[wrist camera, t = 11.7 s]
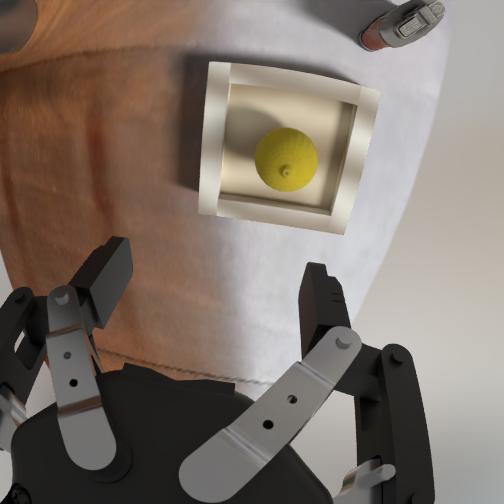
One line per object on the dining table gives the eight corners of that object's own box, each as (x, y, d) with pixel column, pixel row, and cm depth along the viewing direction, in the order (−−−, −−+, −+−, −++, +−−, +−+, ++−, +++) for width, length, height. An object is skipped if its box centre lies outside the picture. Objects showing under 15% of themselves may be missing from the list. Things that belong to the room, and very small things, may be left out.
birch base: (220, 63, 27) (209, 61, 22) (364, 88, 27) (381, 91, 22) (208, 193, 36) (198, 213, 31) (335, 212, 36) (343, 235, 31)
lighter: (398, 2, 19) (440, -17, 11) (417, 25, 21) (464, 15, 12) (350, 35, 23) (381, 20, 15) (371, 58, 24) (409, 54, 16)
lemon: (250, 130, 27) (240, 149, 21) (304, 115, 26) (314, 130, 19) (266, 179, 30) (262, 213, 23) (318, 166, 29) (330, 197, 22)
